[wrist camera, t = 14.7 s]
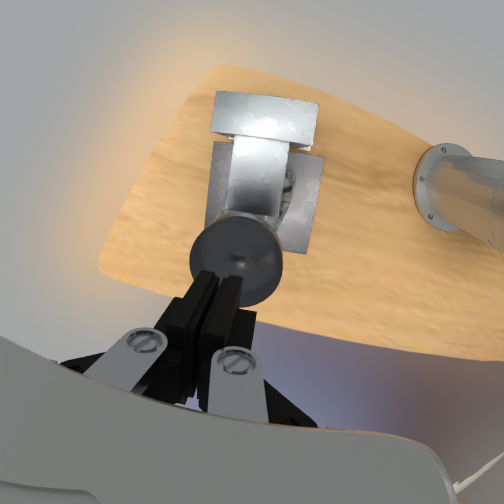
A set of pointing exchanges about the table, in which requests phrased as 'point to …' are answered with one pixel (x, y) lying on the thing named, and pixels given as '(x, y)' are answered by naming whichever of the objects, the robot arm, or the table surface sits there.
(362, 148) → the table surface
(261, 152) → the press frame
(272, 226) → the disc
